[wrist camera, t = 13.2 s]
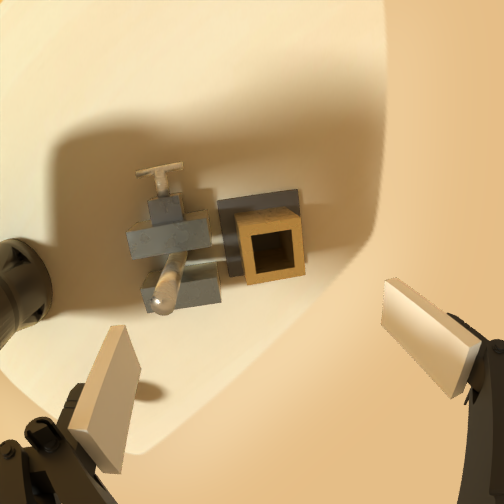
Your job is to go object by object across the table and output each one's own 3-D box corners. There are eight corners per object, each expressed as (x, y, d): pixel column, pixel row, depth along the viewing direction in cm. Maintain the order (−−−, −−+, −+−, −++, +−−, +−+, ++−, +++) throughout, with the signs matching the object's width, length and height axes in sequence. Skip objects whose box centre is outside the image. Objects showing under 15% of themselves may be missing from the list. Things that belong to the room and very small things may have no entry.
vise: (154, 293, 43) (131, 355, 29) (128, 172, 38) (82, 182, 23) (220, 283, 44) (224, 344, 29) (199, 158, 38) (190, 158, 24)
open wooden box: (241, 262, 43) (247, 285, 35) (233, 213, 41) (238, 226, 33) (289, 254, 43) (305, 274, 36) (284, 206, 41) (300, 217, 34)
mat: (229, 275, 44) (229, 277, 43) (217, 200, 40) (217, 201, 40) (303, 263, 45) (304, 264, 44) (296, 189, 41) (297, 189, 41)
